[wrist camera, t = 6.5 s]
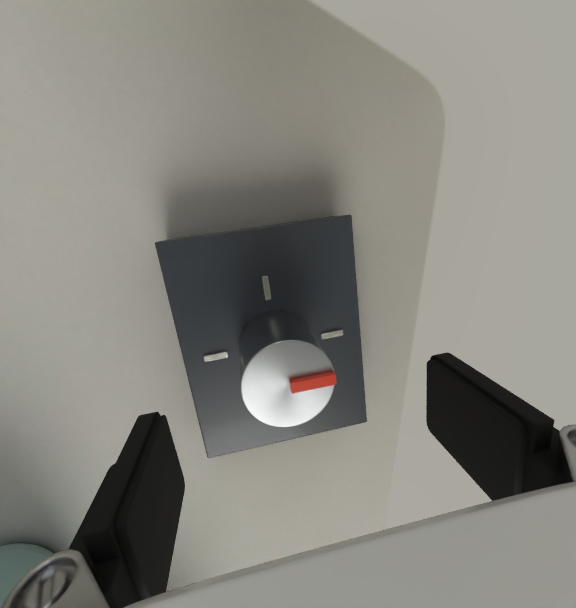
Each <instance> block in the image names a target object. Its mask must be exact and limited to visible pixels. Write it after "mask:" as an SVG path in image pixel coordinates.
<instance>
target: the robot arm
mask: <svg viewBox="0 0 576 608" xmlns="http://www.w3.org/2000/svg"><path fill="white" fill-rule="evenodd" d="M553 424H554V420H553V419H552V418H550V417H549V416H547V415H545V414H544V413H542V412H541V411H539V410H538V409H536V408H535V407H533V406H531V405H530V404H528V403H527V402H525V401H524V400H522V399H521V398H519V397H517V396H516V395H514V394H513V393H511V392H510V391H508V390H507V389H505V388H503V387H502V386H500V385H499V384H497V383H496V382H494V381H492V380H491V379H489V378H488V377H486V376H485V375H483V374H482V373H480V372H478V371H476V370H475V369H474V368H472V367H471V366H469V365H467V364H466V363H464V362H463V361H461V360H460V359H458V358H457V357H455V356H453V355H452V354H450V353H443V354H438V355H433V356H432V357H431V359H430V360H429V361H428V362H427V426H428V429H429V430H430V432H431V433H432V434H433V435H434V436H435V437H436V439H437V440H438V441H439V442H440V443H441V444H442V445H443V447H444V448H445V449H446V450H447V451H448V452H449V453H450V454H451V455H452V456H453V458H454V459H456V461H457V462H458V463H459V464H460V465H461V466H462V468H463V469H464V470H465V471H466V472H467V473H468V474H469V475H470V476H471V477H472V479H473V480H474V481H475V482H476V483H477V484H478V485H479V486H480V488H481V489H482V490H483V491H484V492H485V493H486V494H487V495H488V496H489V498H490V499H491V500H492V501H491V502H487V503H484V504H480V505H476V506H472V507H468V508H465V509H461V510H457V511H453V512H449V513H446V514H442V515H438V516H434V517H430V518H427V519H423V520H420V521H416V522H412V523H408V524H405V525H401V526H397V527H394V528H390V529H386V530H382V531H379V532H375V533H371V534H368V535H364V536H360V537H357V538H353V539H349V540H346V541H342V542H338V543H335V544H331V545H327V546H324V547H320V548H317V549H313V550H309V551H306V552H302V553H299V554H295V555H292V556H288V557H284V558H281V559H277V560H274V561H270V562H266V563H263V564H259V565H256V566H252V567H249V568H245V569H241V570H238V571H234V572H231V573H227V574H224V575H221V576H217V577H214V578H211V579H207V580H204V581H201V582H197V583H194V584H190V585H187V586H184V587H180V588H177V589H174V590H170V591H167V592H166V588H167V582H168V577H169V571H170V566H171V561H172V555H173V550H174V544H175V539H176V534H177V528H178V523H179V517H180V512H181V507H182V501H183V496H184V490H185V482H184V477H183V473H182V470H181V466H180V463H179V459H178V456H177V453H176V449H175V446H174V442H173V439H172V435H171V432H170V428H169V425H168V422H167V418H166V416H165V415H162V416H160V414H159V413H158V412H154V413H149V414H144V415H140V416H139V417H138V418H137V420H136V422H135V424H134V426H133V429H132V431H131V433H130V435H129V437H128V439H127V441H126V443H125V445H124V447H123V449H122V451H121V453H120V455H119V457H118V460H117V462H116V464H113V465H112V466H111V467H110V468H109V470H108V472H107V474H106V476H105V478H104V480H103V482H102V484H101V486H100V488H99V490H98V492H97V494H96V496H95V498H94V500H93V502H92V504H91V506H90V508H89V510H88V512H87V514H86V516H85V518H84V520H83V522H82V524H81V526H80V528H79V530H78V532H77V534H76V536H75V538H74V540H73V542H72V544H71V546H70V548H69V550H64V551H60V552H57V553H55V554H52V555H50V556H48V557H47V558H45V559H43V560H42V561H40V562H39V563H37V564H36V565H35V566H33V567H32V568H31V569H30V570H29V571H27V572H26V573H25V574H24V575H23V576H22V577H21V578H20V580H19V581H18V582H17V583H16V584H15V585H14V586H13V588H12V589H11V591H10V592H9V594H8V595H7V597H6V598H5V600H4V603H3V605H2V607H1V608H576V425H568V426H565V427H563V428H562V429H561V430H560V431H559V430H557V429H556V428H554V427H553Z"/></svg>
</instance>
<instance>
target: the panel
mask: <svg viewBox="0 0 576 608" xmlns="http://www.w3.org/2000/svg"><path fill="white" fill-rule="evenodd" d="M155 246H156V250H157V254H158V258H159V262H160V266H161V270H162V274H163V278H164V282H165V286H166V290H167V295H168V299H169V303H170V307H171V311H172V315H173V319H174V323H175V327H176V331H177V335H178V339H179V343H180V347H181V351H182V355H183V360H184V364H185V368H186V372H187V376H188V380H189V384H190V388H191V392H192V396H193V400H194V404H195V408H196V412H197V416H198V421H199V425H200V429H201V433H202V437H203V441H204V445H205V449H206V453H207V457H208V458H212V457H216V456H221V455H225V454H229V453H234V452H238V451H242V450H247V449H251V448H255V447H260V446H264V445H268V444H273V443H277V442H281V441H286V440H290V439H294V438H299V437H303V436H307V435H312V434H316V433H320V432H325V431H329V430H333V429H338V428H342V427H346V426H351V425H355V424H359V423H364V422H367V417H366V404H365V391H364V377H363V364H362V351H361V337H360V324H359V310H358V297H357V284H356V270H355V257H354V244H353V230H352V217H351V215H342V216H332V217H325V218H318V219H311V220H304V221H297V222H290V223H283V224H276V225H268V226H261V227H254V228H247V229H240V230H233V231H226V232H219V233H212V234H205V235H197V236H190V237H183V238H176V239H169V240H164V241H159V242H156V243H155ZM274 310H279V311H286V312H289V313H291V314H294V315H295V316H297V317H298V318H299V319H301V320H302V321H303V323H304V324H305V325H306V327H307V328H308V330H309V331H310V332H311V334H312V335H313V337H314V338H315V340H316V341H317V342H318V344H319V345H320V347H321V348H322V349H323V351H324V352H325V354H326V355H327V357H328V358H329V360H330V361H331V363H332V366H333V369H334V373H335V374H336V383H337V384H336V385H334V390H333V393H332V396H331V398H330V400H329V402H328V404H327V405H326V406H325V408H324V409H323V410H322V411H321V412H320V413H319V414H318V415H317V416H315V417H314V418H312V419H311V420H309V421H307V422H305V423H302V424H300V425H296V426H291V427H276V426H271V425H268V424H265V423H263V422H261V421H259V420H258V419H256V418H255V417H254V416H253V415H252V414H251V413H250V412H249V411H248V410H247V408H246V406H245V405H244V403H243V400H242V397H241V391H240V365H239V340H240V336H241V333H242V331H243V329H244V328H245V326H246V325H247V324H248V323H249V322H250V321H251V320H252V319H253V318H255V317H256V316H258V315H260V314H262V313H264V312H268V311H274Z"/></svg>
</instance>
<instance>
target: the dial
mask: <svg viewBox="0 0 576 608" xmlns="http://www.w3.org/2000/svg"><path fill="white" fill-rule="evenodd" d="M239 365H240V391H241V397H242V400H243V403H244V405H245V406H246V408H247V410H248V411H249V412H250V413H251V414H252V415H253V416H254V417H255V418H256V419H258V420H259V421H261V422H263V423H265V424H268V425H271V426H276V427H291V426H296V425H300V424H302V423H305V422H307V421H309V420H311V419H312V418H314V417H315V416H317V415H318V414H319V413H320V412H321V411H322V410H323V409H324V408H325V406H326V405H327V404H328V402H329V400H330V398H331V396H332V393H333V390H334V385H336V384H337V383H336V374H335V373H334V369H333V366H332V363H331V361H330V360H329V358H328V357H327V355H326V354H325V352H324V351H323V349H322V348H321V347H320V345H319V344H318V342H317V341H316V340H315V338H314V337H313V335H312V334H311V332H310V331H309V330H308V328H307V327H306V325H305V324H304V323H303V321H302V320H301V319H299V318H298V317H297V316H295V315H294V314H291V313H289V312H286V311H279V310H274V311H268V312H264V313H262V314H260V315H258V316H256V317H255V318H253V319H252V320H251V321H250V322H249V323H248V324H247V325H246V326H245V328H244V329H243V331H242V333H241V336H240V340H239Z"/></svg>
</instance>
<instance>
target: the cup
mask: <svg viewBox="0 0 576 608" xmlns="http://www.w3.org/2000/svg"><path fill="white" fill-rule="evenodd" d="M52 554H54V553H52V552H51V551H49V550H48V549H46V548H44V547H41V546H38V545H34V544H26V543H16V544H7V545H2V546H0V608H1V607H2V605H3V603H4V600H5V598H6V597H7V595H8V594H9V592H10V591H11V589H12V588H13V586H14V585H15V584H16V583H17V582H18V581H19V580H20V578H21V577H22V576H23V575H24V574H25V573H26V572H27V571H29V570H30V569H31V568H32V567H33V566H35V565H36V564H37V563H39V562H40V561H42V560H43V559H45V558H47V557H48V556H50V555H52Z"/></svg>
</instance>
